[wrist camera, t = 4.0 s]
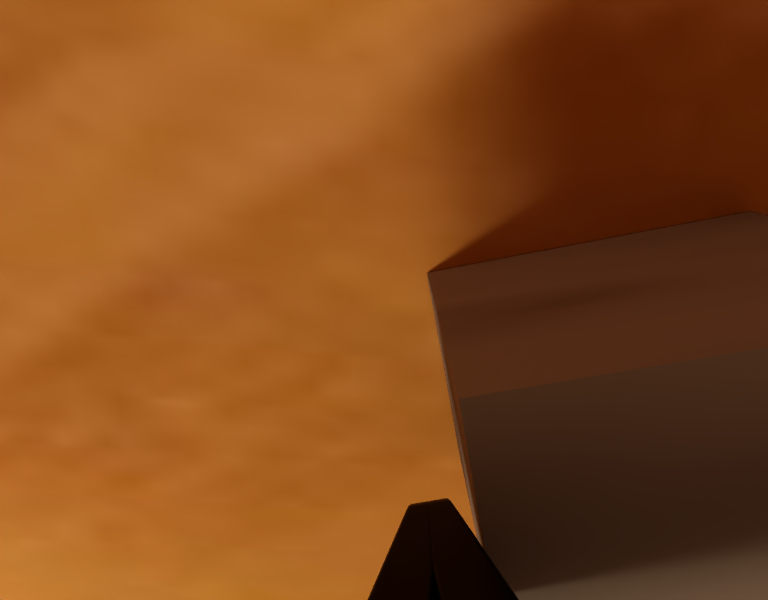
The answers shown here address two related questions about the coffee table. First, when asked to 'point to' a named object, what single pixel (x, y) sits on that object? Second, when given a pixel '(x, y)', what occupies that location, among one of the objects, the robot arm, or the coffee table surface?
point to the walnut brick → (617, 412)
